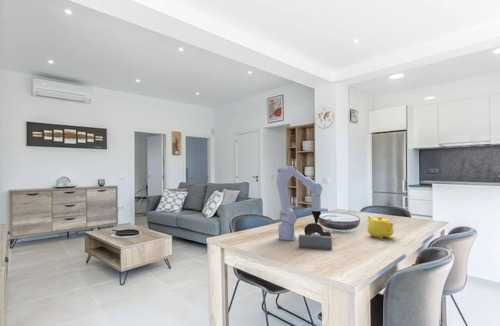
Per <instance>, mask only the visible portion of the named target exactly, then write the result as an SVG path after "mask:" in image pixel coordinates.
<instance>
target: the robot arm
mask: <svg viewBox="0 0 500 326" xmlns="http://www.w3.org/2000/svg"><path fill="white" fill-rule="evenodd" d="M276 172H277V176H276V186H277V190H278V195H279V201H280V206H281V209H280V211H279V212H280V215H279V220H280V221H281V223H279V224H278V229H277V230H278V240H283V241H285V240H286V241H295V240H296V238H297V236H296V235H295V224H296V222H297V219H298V218H297V215H296V214H295V211H294V210H293V208H292V207H291V201H290V195H289V190H288V185H287V182H288V181H289V180H290V179H291V178H292V177H294V178H296V179H297V180H299V181H300V182H301V183H302V185H304V186H305V187H306V188H307V189H309V191H310V192H311V207H308V208H304V212H305V213H308V212H309V213H310V212H311V214H312V217H313V220H314V223H316V224H319V223H318V222H319V219H320V217H321V215H322V213H324V212H325V213H328V212H329V209H328V208H325V207H324V208H323V207H321V203H322V201H321V196H322V191H323V186H322V185H321V183H319V182H318V183H317V181H316V180H313V179H312V177H310V176H304V175H303V173H301V172H300V171H299V170H297V168H295V167H293V166H292V165H287V166H283V165H282V166H280V167H279V168H278V169H277V171H276Z"/></svg>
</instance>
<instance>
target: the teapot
mask: <svg viewBox="0 0 500 326" xmlns="http://www.w3.org/2000/svg"><path fill="white" fill-rule="evenodd" d="M366 216H367V218H368V224H367V229H366V230H367V233H368V234H369V235H370V237H371V238H375V237H378V238H377V239H378V240H383V239H384V238H386V239H391V236H393V234H394V224H393V222H391V220H390V219H387V218H383V216H381V215H380V216H379V215H378V216H377V217H375V218H372V216H371V215H369V214H366Z"/></svg>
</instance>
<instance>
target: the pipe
mask: <svg viewBox="0 0 500 326" xmlns="http://www.w3.org/2000/svg"><path fill="white" fill-rule="evenodd" d="M303 230H304V235H311V234H312V233H318V234H320V235H321V236H332V234H331V231H324V228H323V227H322V226H321V225H320V224H319V223H315V222H311V223H308V224H307V225H305V227H304V229H303Z"/></svg>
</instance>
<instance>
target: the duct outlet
mask: <svg viewBox="0 0 500 326" xmlns="http://www.w3.org/2000/svg"><path fill="white" fill-rule="evenodd" d="M332 241H333V237H332V235H331V236H321V235H320V234H318V233H312V234H311V235H305V234H299V235H298V248H301V249H302V248H303V249H317V250H318V249H319V250H332V248H333V242H332Z"/></svg>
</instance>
